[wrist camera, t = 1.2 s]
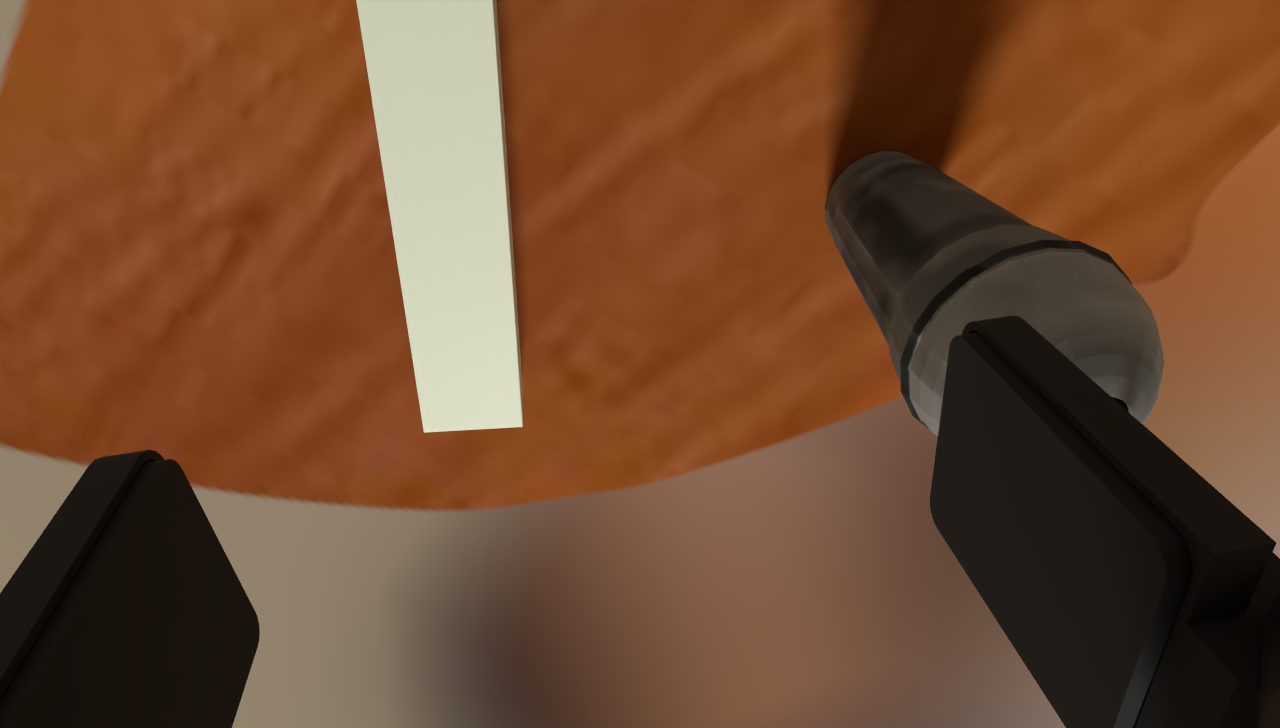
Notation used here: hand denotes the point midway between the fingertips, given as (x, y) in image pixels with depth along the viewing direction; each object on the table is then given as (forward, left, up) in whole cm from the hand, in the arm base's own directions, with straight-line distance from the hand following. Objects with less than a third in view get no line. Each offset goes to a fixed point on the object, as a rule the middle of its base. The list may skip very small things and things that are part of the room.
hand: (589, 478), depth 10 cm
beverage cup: (+8, +13, -23) cm, 28 cm away
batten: (+3, -4, -23) cm, 24 cm away
